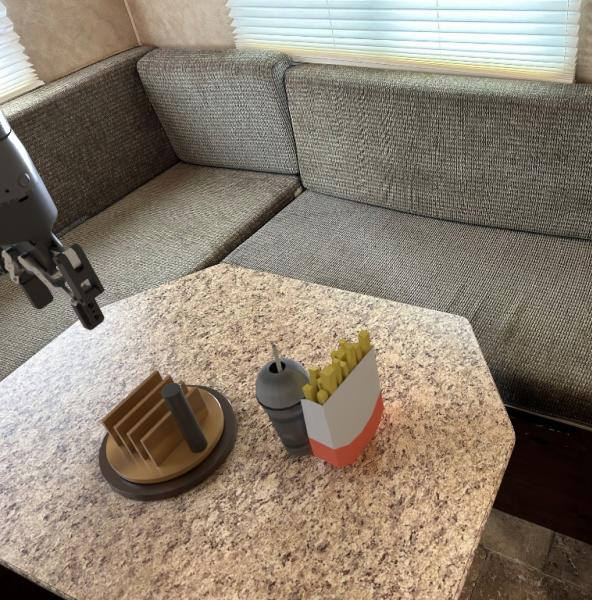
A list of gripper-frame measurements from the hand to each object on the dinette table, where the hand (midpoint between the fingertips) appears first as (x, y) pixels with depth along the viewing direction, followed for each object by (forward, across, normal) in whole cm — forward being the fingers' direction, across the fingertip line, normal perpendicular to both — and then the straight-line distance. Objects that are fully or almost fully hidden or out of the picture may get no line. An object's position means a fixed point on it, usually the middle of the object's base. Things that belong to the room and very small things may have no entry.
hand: (69, 314), depth 67 cm
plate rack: (+25, 0, +3) cm, 26 cm away
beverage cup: (+27, +17, +11) cm, 34 cm away
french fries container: (+27, +24, +14) cm, 39 cm away
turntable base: (+27, 0, +4) cm, 27 cm away
